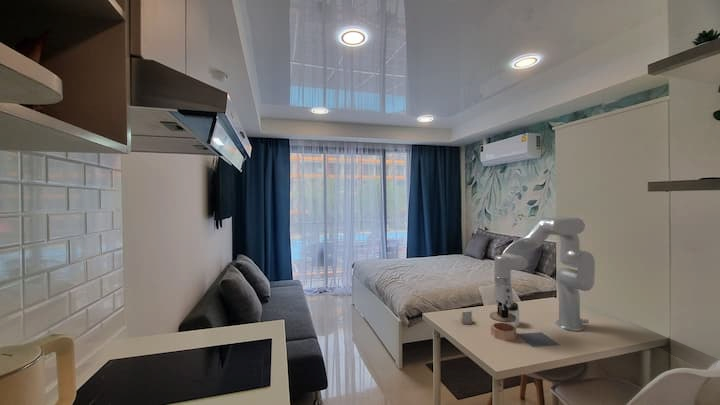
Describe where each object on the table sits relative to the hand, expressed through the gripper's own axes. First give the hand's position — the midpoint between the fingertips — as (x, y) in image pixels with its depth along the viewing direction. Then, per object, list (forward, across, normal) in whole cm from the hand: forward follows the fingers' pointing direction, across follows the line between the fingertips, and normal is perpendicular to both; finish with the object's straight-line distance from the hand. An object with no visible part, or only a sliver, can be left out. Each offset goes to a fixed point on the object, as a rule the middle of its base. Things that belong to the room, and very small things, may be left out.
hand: (502, 315), depth 157 cm
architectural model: (+12, +18, +12) cm, 25 cm away
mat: (+11, -6, -14) cm, 19 cm away
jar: (+11, +13, -11) cm, 20 cm away
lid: (+1, 0, 0) cm, 1 cm away
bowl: (+11, 0, 0) cm, 11 cm away
